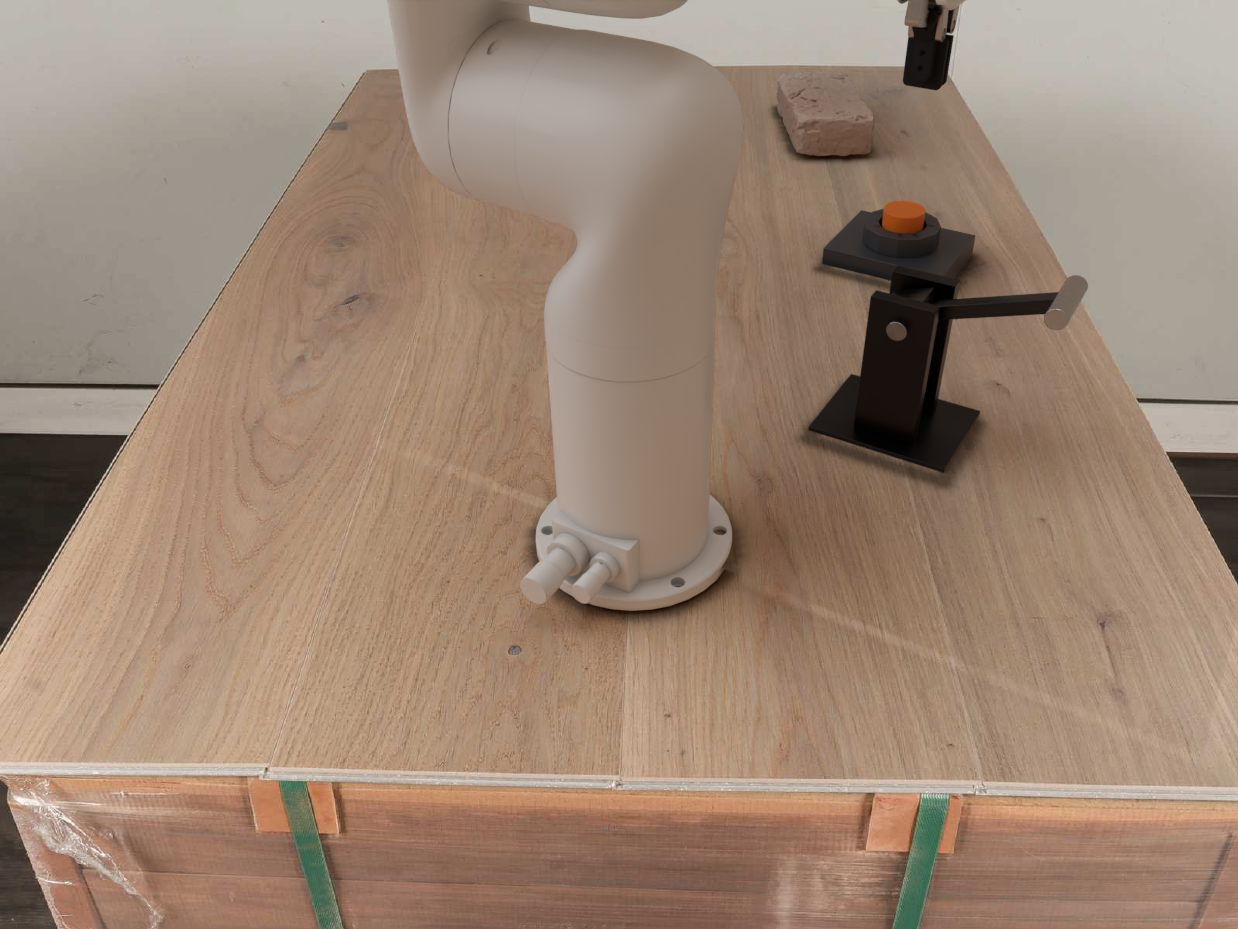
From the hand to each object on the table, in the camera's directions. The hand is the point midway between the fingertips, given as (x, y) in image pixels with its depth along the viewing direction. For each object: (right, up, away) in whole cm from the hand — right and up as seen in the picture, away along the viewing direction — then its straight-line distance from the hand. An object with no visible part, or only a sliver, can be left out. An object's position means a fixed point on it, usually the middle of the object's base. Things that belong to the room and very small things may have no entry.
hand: (924, 84), depth 92 cm
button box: (0, -13, +10) cm, 16 cm away
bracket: (-5, -29, -11) cm, 31 cm away
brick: (-2, +6, +35) cm, 36 cm away
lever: (-1, -22, -19) cm, 29 cm away
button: (0, -10, +7) cm, 13 cm away
